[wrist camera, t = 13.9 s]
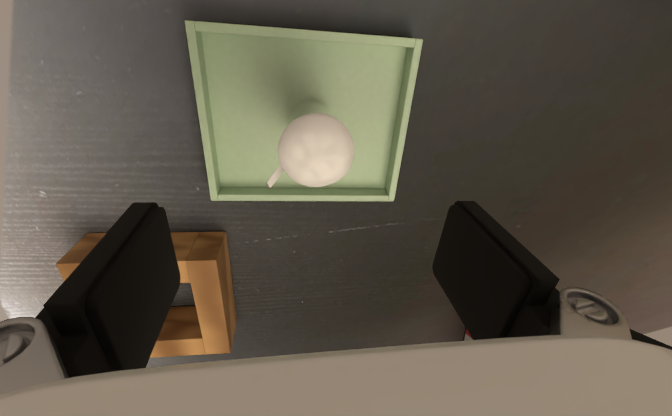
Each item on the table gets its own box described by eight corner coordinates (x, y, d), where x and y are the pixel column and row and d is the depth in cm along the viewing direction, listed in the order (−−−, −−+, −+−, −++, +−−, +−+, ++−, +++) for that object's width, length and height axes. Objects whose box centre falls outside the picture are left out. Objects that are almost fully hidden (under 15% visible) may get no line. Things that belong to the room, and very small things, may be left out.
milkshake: (263, 108, 24) (246, 149, 16) (325, 80, 24) (343, 108, 15) (288, 157, 27) (285, 217, 18) (345, 133, 26) (370, 183, 18)
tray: (216, 189, 28) (210, 200, 26) (193, 21, 22) (183, 19, 20) (387, 190, 30) (394, 201, 28) (412, 38, 24) (423, 39, 22)
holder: (123, 324, 35) (101, 360, 31) (87, 232, 29) (55, 263, 25) (237, 319, 37) (230, 352, 33) (225, 231, 31) (216, 260, 27)
